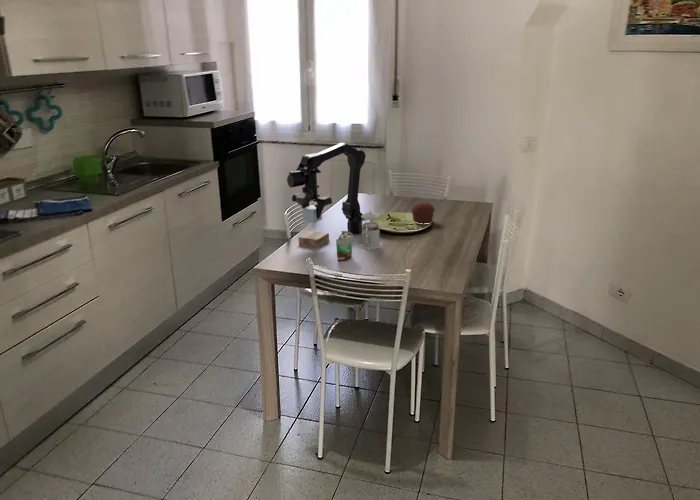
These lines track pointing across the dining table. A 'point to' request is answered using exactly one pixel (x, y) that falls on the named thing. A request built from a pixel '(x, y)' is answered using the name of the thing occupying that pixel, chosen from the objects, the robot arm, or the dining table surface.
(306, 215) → the slate cube
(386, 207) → the dining table surface
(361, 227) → the robot arm
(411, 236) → the dining table surface
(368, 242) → the french press
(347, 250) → the food container
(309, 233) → the walnut block
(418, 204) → the muffin
